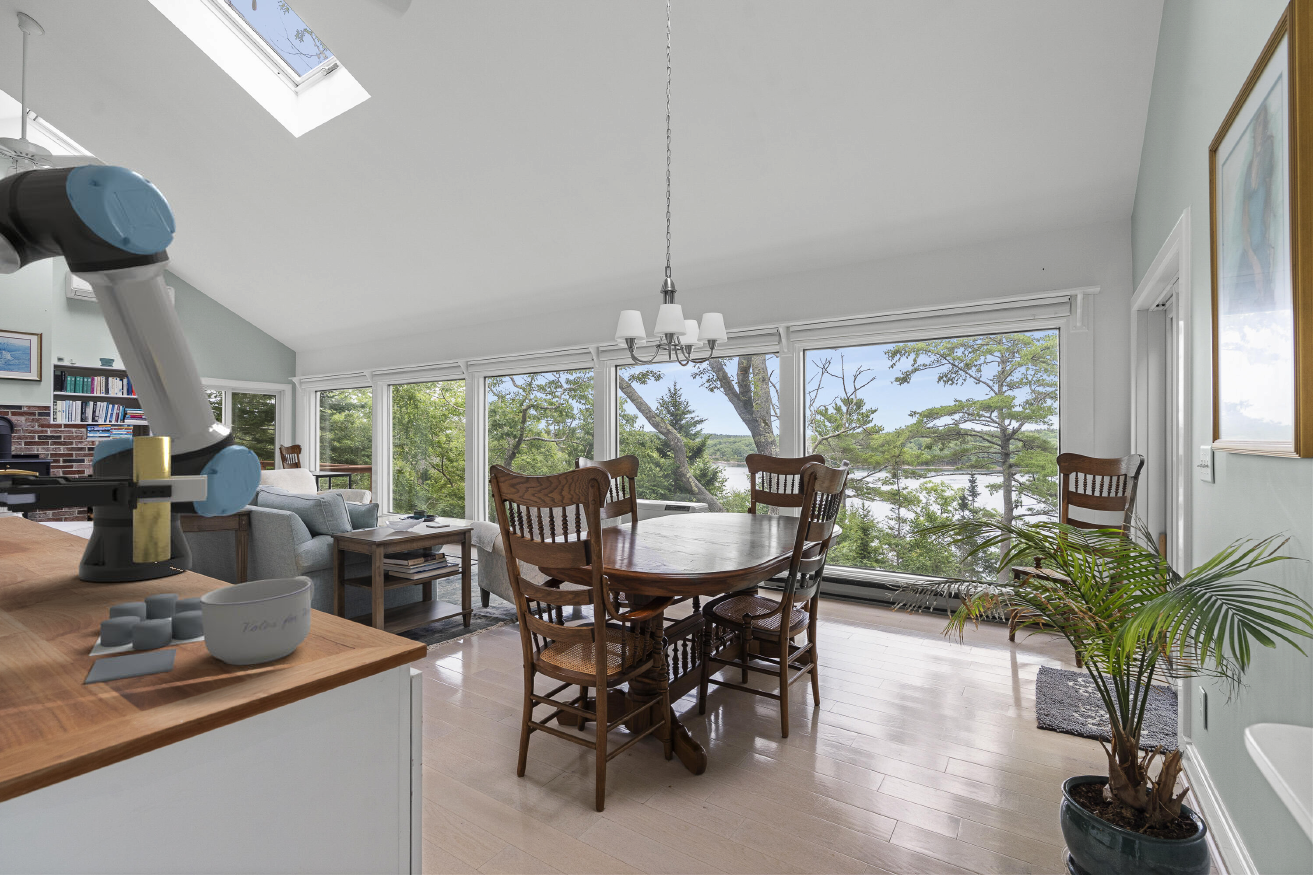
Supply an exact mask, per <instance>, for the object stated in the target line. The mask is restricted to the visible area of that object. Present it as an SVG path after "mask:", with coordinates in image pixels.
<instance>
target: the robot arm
mask: <svg viewBox="0 0 1313 875" xmlns="http://www.w3.org/2000/svg"><path fill="white" fill-rule="evenodd" d="M176 228H177V226H176V220H175V215H174V213H173V209H172V207H171V205H170V204H169V202H168V200H167V198H166V197H165V196H164V194H163V193H162V192H161V190H159V189H158V187H156V185H154V183H153V182H151V181H149V180H148V179H147V178H145V177H144V176H142V175H141V174H139V173H137V172H136V171H134V170H132V169H128V168H126V167H122V166H116V165H101V164H97V165H96V164H87V165H77V166H69V167H68V166H67V167H57V168H46V169H41V168H40V169H31V170H30V169H28V170H23V171H20V172H17V173H13V174H11V175H8V176H6V177H3V178H1V179H0V274H3V275H10V274H11V275H12V274H14V273H16V272H18V271H20V270H21V269H22V268H24V267H25V266H27V265H30V264H32V263H35V262H38V261H41V260H45V259H51V258H56V257H64V260H65V262H66V264H67V266H68V269H69V271H70V274H71V275H73V276H74V277H76V278H79V279H81V280H82V281H85V283H88V284H89V286H90V287H91V289H92V292H93V295H94V297H95V299H96V301H97V304H98V307H99V309H100V310H101V313H102V316H103V318H104V320H105V323H106V325H107V328H108V330H109V333H110V335H111V338H112V340H113V342H114V344H115V347H116V350H117V352H118V354H119V357H120V360H121V362H122V364H123V367H124V370H125V372H126V373H127V376H128V378H129V381H130V383H131V386H132V389H133V391H134V393H135V396H136V398H137V400H138V402H139V405H140V408H141V410H142V412H143V415H144V417H145V420H146V423H147V425H148V427H149V429H150V432H151V434H152V436H154V437H171V479H153V480H139V486H137V482H134V481H133V439H134V437H135V436H133V437H131V436H129V437H128V436H127V437H119V438H110V439H105V440H101V441H99V442H98V443H97V444H96V445H95V447H94V449H93V455H92V456H93V457H92V462H91V467H92V476H88V477H87V476H82V477H81V476H80V477H69V476H68V475H43V476H42V475H38V474H31V473H30V474H18V476H12V477H11V481H9V480H7V481H2V480H0V508H6V511H8V512H11V513H14V514H17V513H21V514H22V513H29V512H33V511H44V510H46V511H47V510H49V511H50V510H59V509H67V508H68V509H69V508H71V509H72V508H91V507H92V510H93V511H92V518H93V519H92V521H93V522H92V532H91V535H90V537H89V540H88V542H87V544H86V547H85V550H84V552H83V554H82V557H81V559H80V562H79V566H78V578H79V579H80V580H81V581H84V582H95V583H115V582H120V583H121V582H131V581H132V582H133V581H140V580H141V581H143V580H149V579H150V580H151V579H155V578H163V577H169V576H172V575H176V574H179V573H183V572H186V571H188V570H190V569H191V568H192V566H193V556H192V552H191V549H190V546H189V544H188V542H187V539H186V537H185V534H184V532H183V530H182V527H181V520H180V519H181V515H195V516H196V515H198V516H202V517H206V518H208V517H209V518H210V517H216V516H220V517H222V516H223V517H224V516H230V515H231V516H232V515H234V514H237V513H238V512H240V511H241V510H243V509H244V508H246V507H247V505H249V504H250V503H251V502H252V500H253V499H254V498H255V495H256V494H257V489H258V488H259V487H260V484H261V479H262V466H261V462H260V459H259V458H258V457H259V456H257V454H256V453H255V452H254V451H253V450H252V449H248V447H246V446H244V445H239V444H236V441H235V439H234V438H235V437H234V435H233V433H232V429H231V427H230V426H228V425H226V424H225V423H222V422H219V421H217V420H216V416H215V415H214V412H213V409H212V407H211V404H210V401H209V397H208V396H207V392H206V390H205V387H204V384H203V382H202V379H201V377H200V373H199V371H198V368H197V365H196V363H195V360H194V358H193V355H192V354H193V353H191V352H192V351H191V349H190V347H189V344H188V341H187V338H186V335H185V333H184V330H183V326H182V324H181V322H180V319H179V316H178V313H177V310H176V308H175V305H174V304H173V300H172V297H171V294H170V291H169V289H168V287H167V284H166V281H165V278H164V275H163V274H164V271H165V270H166V268H167V266H168V265H169V263H170V262H171V260H170V257H169V255H168V252H167V248H168V247H169V246H170V245H171V244H172V242H173V240H174V236H173V234H175V233H176V230H177V229H176ZM147 436H148V435H142V436H140V437H147ZM137 499H139V503H156V502H171V508H170V559H167V560H163V561H157V563H155V562H146V563H139V562H133V510H134V509H137ZM170 567H173V568H176V569H172V568H170ZM177 569H180V570H183V571H180V570H177Z"/></svg>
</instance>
